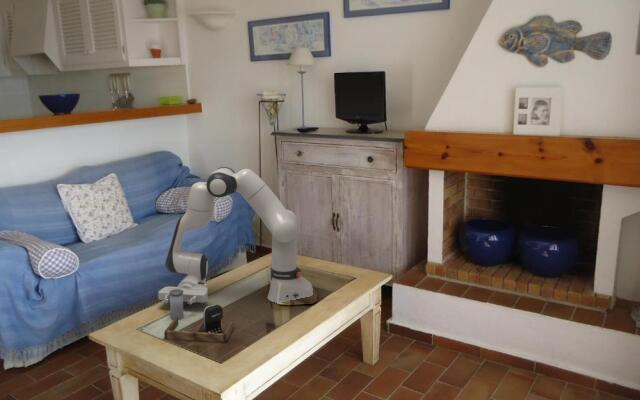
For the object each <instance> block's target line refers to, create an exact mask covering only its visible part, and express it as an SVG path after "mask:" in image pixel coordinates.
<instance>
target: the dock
mask: <svg viewBox="0 0 640 400" xmlns="http://www.w3.org/2000/svg"><path fill="white" fill-rule="evenodd" d="M178 325H179V320H178V317H175V318H174V320H172V321H171V322H170V323H169V325H168V327H166V328H165V330H164V331H163V332H164V333H163V335H164V340H172V341H173V340H175V341H189V342H191V341H192V342H205V343H206V342H208V343H209V342H210V343H227V342H228V339H229V338H230V335H231V333H232V331H233V329H234V328H235V326H234V325H235V324H234V319H230V321H229V323H228V325H227V327H226V328H225V330H224V332H223V333H220V334H219V333H211V332H209V333H204V317H203V318H202V320H201V322H200V323H199V324H198V325H197V328H196V329H195V331H185V330H181V331H180V330H179V329H178V330H175V329H176V328H178Z"/></svg>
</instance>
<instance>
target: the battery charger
mask: <svg viewBox="0 0 640 400" xmlns="http://www.w3.org/2000/svg"><path fill="white" fill-rule="evenodd" d="M203 318H204V330H203V333H209V332H211V333H219V334H222V332H223V330H222V324H221V323H222V319H223V318H224V310H223V307H222V306H221V305H220V304H218V303H214V304H211V305H208V306H207V305H206V306H205V307H204V309H203Z"/></svg>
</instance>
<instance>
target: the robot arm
mask: <svg viewBox="0 0 640 400" xmlns="http://www.w3.org/2000/svg"><path fill="white" fill-rule="evenodd" d="M236 192H237V193H239V194H240V195H241V196H242V198H243V199H244V200H245V201H246V202H247V203H248V204H249V206H250V207H251V208H252V209H253V210H254V211H255V213H256V214H257V215H258V216H259V218H260V220H262V222H263V224H264V225H265V227H266V228H267V229H268V231H269V232H270V233H271V234H272V236H271V267H270V270H269V271H270V272H269V277H270V285H269V290H268V294H267V299H268V301H270V302H272V303H274V302H275V303H274V304H276V303H277V304H284V303H282V302H286V301H290V300H296V299H300V298H305V297H310V296H312V295H313V291H314V288H313V285H312V282H311V281H309V280H308V279H306V278H305V277H303V276H302V269H301V267H297V266H298V265H297V262H298V260H297V259H298V257H297V255H298V217H297V216H296V214H295V213H294V212H293V211H292V210H290V209H286V207H285V206H284V205H283V203H282V202H281V201H280V199H279V198H278V196H277V194H275V192H273V190H272V189H271V188H270V187H269V185H267V183H266V182H265V181H264V180H263V179H262V178H261V177H260V176H259V175H258V174H257V173H256V172H254V171H253V170H252V169H250V168H243V169H241V170H238V172H235V171H234V170H233V168H230V167H228V166H220V167H218V168H216V170H214V171H212V172H211V173H210V175H209V176H208V177H207V180H206V181H198V182H195V183H193V184H192V185H191V187H190V190H189V194H188V197H187V205H186V210H185V212H184V215H181V216H179V218H178V220H177V222H176V224H175V225H176V226H175V228H174V232H173V235H172V237H171V238H172V239H171V243H170V247H169V249H168V253H167V255H166V258H165V263H164V265H165V267H166V269H167V270H168V272H169V273H173V274H184V275H186V276H185V277H184V278H183V279H182V280H181V281H180V283H179V284H178V285H177V286H170V285H169V286H165V287H164V286H163V288H161V289H160V290H159V291H158V292H157V297H158V298H157V299H158V300H159V301H164V304H170V294H169V292H170V291H171V290H175V289H180V290H183V302H186V303H187V305H192V304H194V303H206V302H207V301H208V297H209V296H208V295H209V286H208V283H206V280H207V277H208V275H209V272H210V271H209V270H210V260H209V259H208V257H207V256H206V255H205V254H203V253H197V252H191V251H190V252H189V251H183V250H182V249H181V248H182V243H183V240H184V237H185V234H186V233H187V232H188V231H193V230H197V229H198V230H199V229H201V228H204V227H205V226H207V225H209V224H210V222H211V221H212V219H213V215H214V204H215V199H216V198H225V197H227V196H229V195H232V194H234V193H236ZM277 304H276V305H277Z"/></svg>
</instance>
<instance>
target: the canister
mask: <svg viewBox="0 0 640 400" xmlns="http://www.w3.org/2000/svg"><path fill="white" fill-rule="evenodd" d="M169 294H170V302H169V304H170V306H169V307H170V310H169V311H170V319H171V320H172V321H173V320H174V318H175V317H178V321H179V320H183V318H184V301H183V290H180V289H175V290H171V291H170V292H169Z"/></svg>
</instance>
